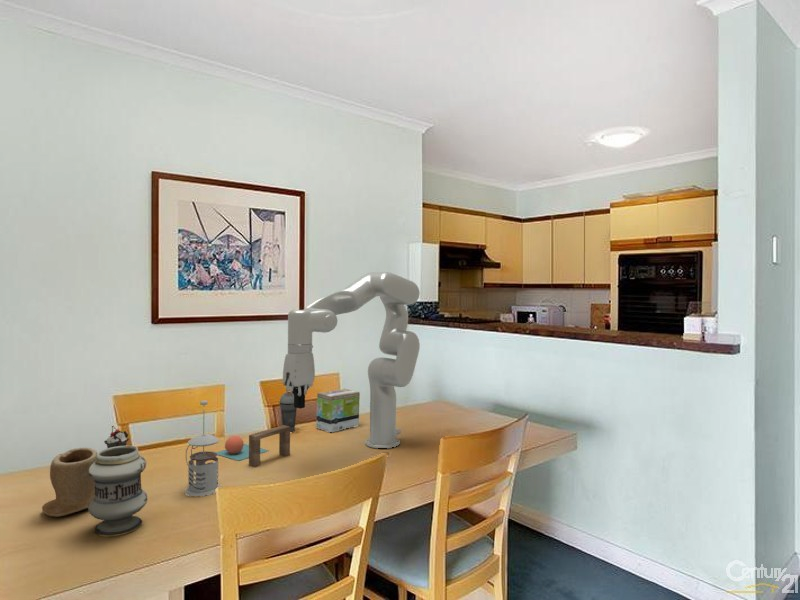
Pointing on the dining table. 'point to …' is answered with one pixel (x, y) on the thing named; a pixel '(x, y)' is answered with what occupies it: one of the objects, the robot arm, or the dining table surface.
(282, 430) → the bridge
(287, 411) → the beverage cup
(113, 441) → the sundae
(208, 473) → the french press
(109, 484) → the apothecary jar
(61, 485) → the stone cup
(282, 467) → the dining table surface
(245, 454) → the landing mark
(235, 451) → the ball
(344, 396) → the tea box
